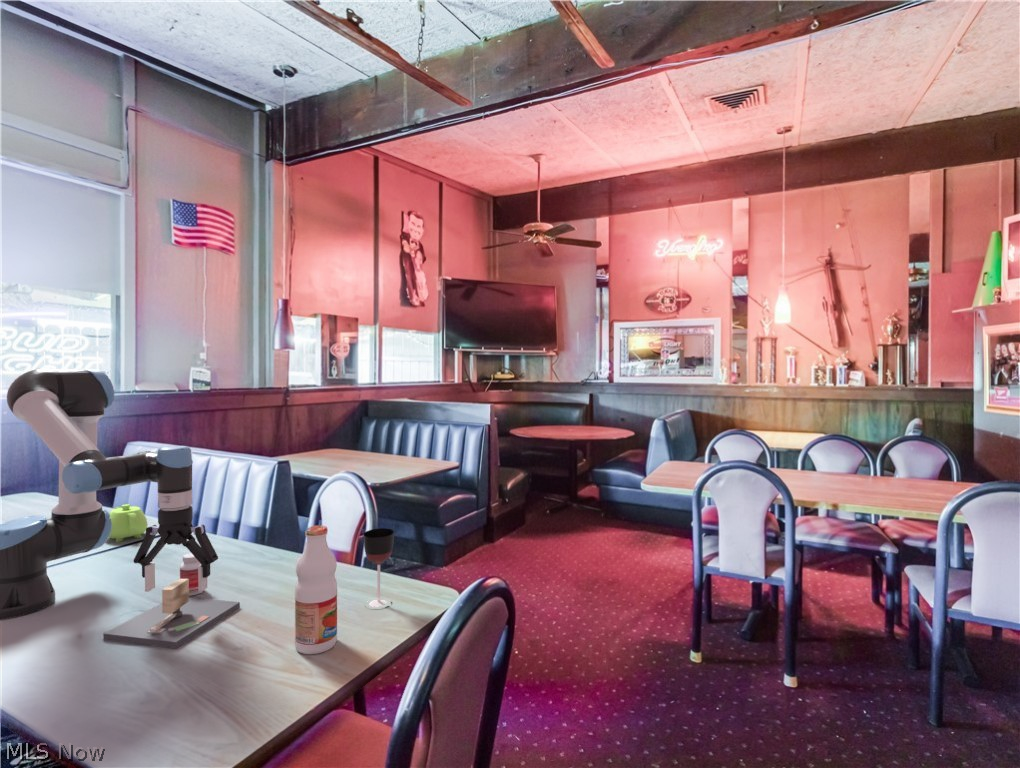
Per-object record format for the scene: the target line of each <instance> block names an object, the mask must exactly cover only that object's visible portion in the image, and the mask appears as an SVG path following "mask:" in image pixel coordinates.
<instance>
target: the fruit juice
mask: <svg viewBox="0 0 1020 768" xmlns="http://www.w3.org/2000/svg"><path fill="white" fill-rule="evenodd" d="M304 533H305V537H306V544H305V547H304V549H303V552H302V553H301V555H300V556H299V557H298V559H297V561H296V563H295V573H296V576H297V582H296V585H295V591H294V601H295V602H294V644H295V649H296V651H297V652H299V653H300V654H304V655H316V654H317V655H318V654H321V653H324V652H327V651H329V650H331V649H332V648H333V647H334V646H335V645H336V643H337V641H338V581H337V578H336V576H335V574H336V571H337V565H338V564H337V558H336V556H335V555H334V553H333V552H332V551H331V550H330V547H329V545H328V541H327V535H328V527H327V526H325V525H312V526H309V527H306V528H305V532H304Z"/></svg>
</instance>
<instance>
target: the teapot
mask: <svg viewBox="0 0 1020 768" xmlns="http://www.w3.org/2000/svg"><path fill="white" fill-rule="evenodd" d="M109 514H110V519H111V522H112V528H111V533H110V536H109V539H112V540H113V539H115V541H114V542H115V543H119V542H120V543H121V542H123V541H124V538H129V537H133V539H140V538H142V537H143V536H142V534H144V533H146V528H147V527H149V526H148V521H147V517H146V515H145V513H144V512H143V510H142V509H141V507H139V506H134V505H133V506H131V504H129V503H128V504H127V503H125V504H122V505H121V507H120V506H115V507H114V508H113V509H112V510H110V512H109Z"/></svg>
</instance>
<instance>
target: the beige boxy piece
mask: <svg viewBox="0 0 1020 768" xmlns="http://www.w3.org/2000/svg"><path fill="white" fill-rule="evenodd" d="M161 597H162V598H161V603H162V613H170V615H169V616H168V617H166V618H165V619H163V620H162V621H161V622H159V623H158V624H156V625H155V626H153V627H152V628H151V629H150V632H155V631H156V630H158V629H159V628H161V627H162V626H163V625H165V624H166V623H167V622H169V621H170V620H171V619H173V618H177V617H180V616H182V611H180V607H182V606H183V605H184V604H186V603H187V602H189V597H190V596H189V579H180V578H179V579H177V580H175V581H173V582H172V583H170V584H169V585H167V586H166V587H164V588H162V589H161Z"/></svg>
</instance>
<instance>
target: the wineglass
mask: <svg viewBox="0 0 1020 768" xmlns="http://www.w3.org/2000/svg"><path fill="white" fill-rule="evenodd" d="M394 539H395V531H394V530H393V529H392V528H385V527H383V528H381V527H380V528H374V529H369V530H367V531H365V532H364V533H363V545H364V552H365V553H364V554H365V556H366V559H367V560H368V561H369V562H371V563H373V564H376V565H377V566H376V567H377V569H376V570H377V575H376V576H377V578H376V579H377V580H376V581H377V582H376V583H377V585H376V586H377V588H376V592H377V593H376V595H377V596H376V597H377V598H376V599H377V600H373V601H371V602H370V603H369V605H370V606H372V607H374V606H375V607H379V606H382V605H385V604H386V603H387V601H385V600H380V598H381V564H383V563H384V562H385V561H387V560H388V559H389V558H390V557H391V555H392V552H393V548H394Z"/></svg>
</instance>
